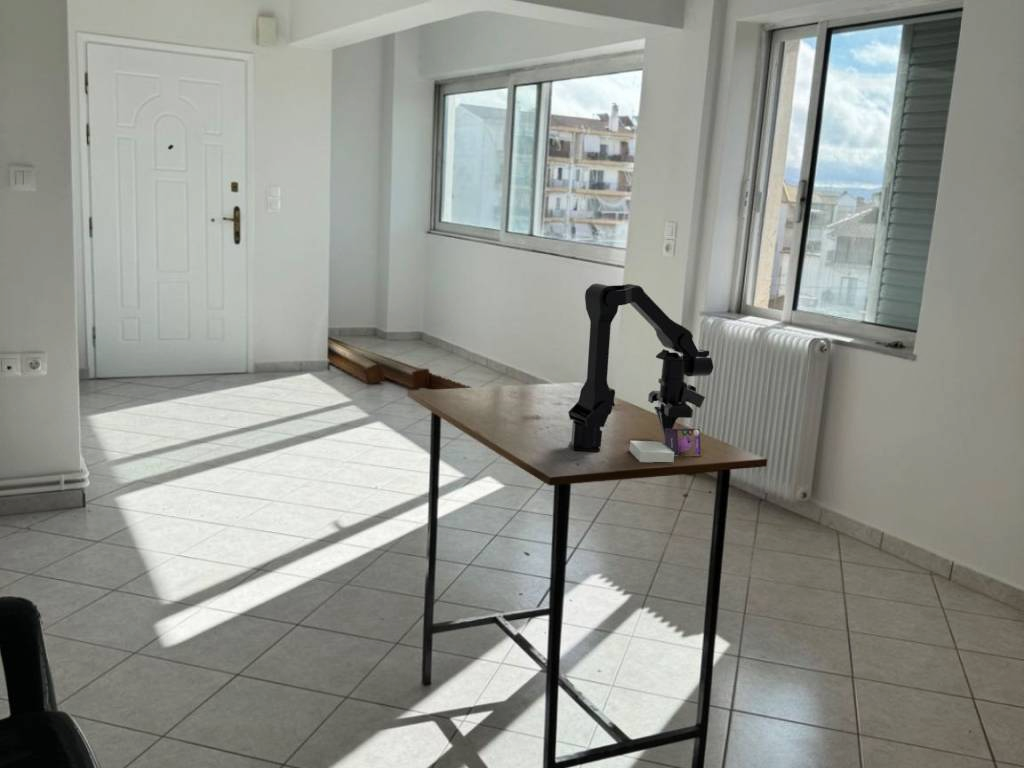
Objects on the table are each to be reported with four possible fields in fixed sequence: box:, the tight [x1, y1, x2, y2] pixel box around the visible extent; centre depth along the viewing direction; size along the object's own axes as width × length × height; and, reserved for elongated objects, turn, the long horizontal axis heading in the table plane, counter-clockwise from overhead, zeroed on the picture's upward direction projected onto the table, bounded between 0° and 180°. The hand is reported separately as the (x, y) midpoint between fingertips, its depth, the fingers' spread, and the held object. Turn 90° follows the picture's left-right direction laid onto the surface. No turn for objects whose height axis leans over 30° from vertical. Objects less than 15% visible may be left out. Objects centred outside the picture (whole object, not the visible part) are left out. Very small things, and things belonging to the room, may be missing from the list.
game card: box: [664, 428, 701, 455], centre depth 231 cm, size 7×5×9 cm
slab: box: [628, 440, 675, 463], centre depth 226 cm, size 8×10×3 cm
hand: (666, 436), depth 241 cm, fingers closed
